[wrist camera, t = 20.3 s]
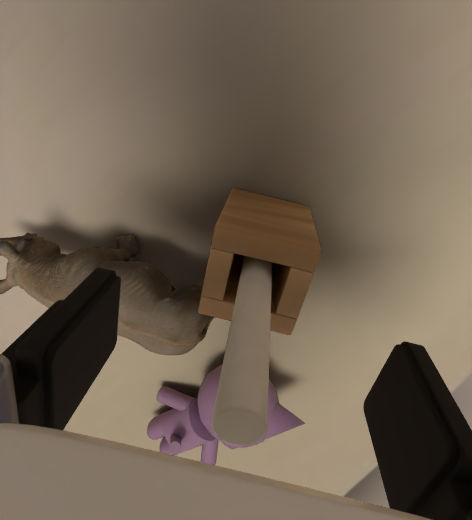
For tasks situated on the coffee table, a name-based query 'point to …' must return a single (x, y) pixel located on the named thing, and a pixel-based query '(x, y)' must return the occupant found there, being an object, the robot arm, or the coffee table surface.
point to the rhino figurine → (131, 292)
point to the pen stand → (261, 255)
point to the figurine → (206, 420)
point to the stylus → (246, 360)
